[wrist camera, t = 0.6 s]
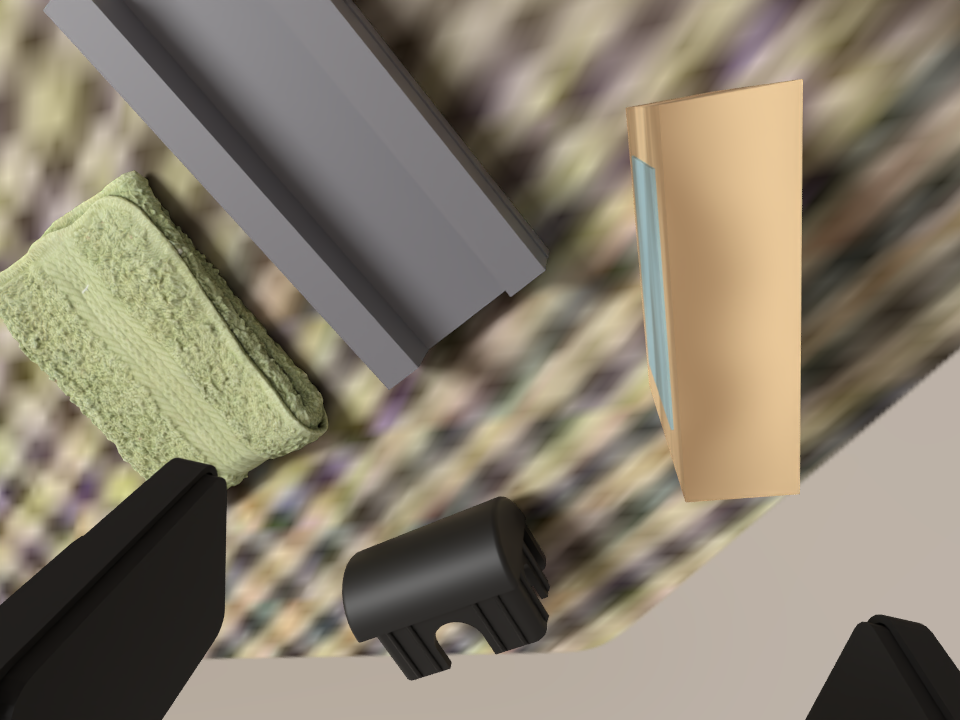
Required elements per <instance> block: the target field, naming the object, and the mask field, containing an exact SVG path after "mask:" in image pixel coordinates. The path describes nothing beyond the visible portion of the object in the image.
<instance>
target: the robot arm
mask: <svg viewBox="0 0 960 720" xmlns="http://www.w3.org/2000/svg"><path fill="white" fill-rule="evenodd" d="M226 510H227V482H226V480H225V479H224V478H222V477H218V473H217V470H216V467H214V466H213V465H210V464H205V463H201V462H196V461H192V460H187V459H183V458H173V459H171V460H170V461H168V462H167V463H166V464H165V465H164V466H163V467H161V468H160V469H159V470H158V471H157V472H156V473H155V474H154V475H152V476H151V477H150V478H149V479H148V480H147V481H146V482H144V483H143V484H142V485H141V486H140V487H139V488H138V489H136V490H135V491H134V492H133V493H132V494H131V495H130V496H128V497H127V498H126V499H125V500H124V501H123V502H122V503H121V504H119V505H118V506H117V507H116V508H115V509H114V510H113V511H111V512H110V513H109V514H108V515H107V516H106V517H105V518H103V519H102V520H101V521H100V522H99V523H98V524H97V525H95V526H94V527H93V528H92V529H91V530H90V531H89V532H87V533H86V534H85V535H84V536H81V537H80V538H78V539H77V540H75V541H74V542H73V543H71V544H70V545H69V546H68V547H67V548H65V549H64V550H63V551H62V552H61V553H60V554H58V555H57V556H56V557H55V558H54V559H53V560H52V561H50V562H49V563H48V564H47V565H46V566H45V567H44V568H42V569H41V570H40V571H39V572H38V573H37V574H36V575H34V576H33V577H32V578H31V579H30V580H29V581H27V582H26V583H25V584H24V585H23V586H22V587H21V588H19V589H18V590H17V591H16V592H15V593H14V594H13V595H11V596H10V597H9V598H8V599H7V600H6V601H5V602H3V603H2V604H1V605H0V720H162V719H163V717H164V716H165V714H166V713H167V711H168V710H169V708H170V707H171V705H172V704H173V702H174V701H175V699H176V698H177V696H178V695H179V693H180V692H181V690H182V689H183V687H184V686H185V684H186V683H187V681H188V680H189V678H190V676H191V675H192V673H193V672H194V670H195V669H196V668H197V666H198V664H199V663H200V661H201V660H202V658H203V657H204V655H205V654H206V652H207V651H208V649H209V648H210V646H211V645H212V643H213V642H214V640H215V639H216V637H217V635H218V633H219V631H220V629H221V626H222V623H223V619H224V613H225V565H226ZM806 720H960V671H959V670H958V668H957V667H956V665H955V664H954V663H953V661H952V660H951V658H950V657H949V656H948V654H947V653H946V651H945V650H944V649H943V647H942V646H941V644H940V643H939V642H938V640H937V639H936V637H935V636H934V634H933V633H932V632H931V631H930V630H929V629H928V628H927V627H926V626H924V625H922V624H920V623H917V622H912V621H908V620H903V619H899V618H894V617H890V616H885V615H875V616H873V617H871V618H870V619H869V620H868V622H861V623H859V624H858V625H857V626H856V627H855V629H854V631H853V632H852V634H851V636H850V638H849V640H848V642H847V644H846V645H845V647H844V649H843V651H842V653H841V655H840V656H839V658H838V660H837V662H836V664H835V666H834V668H833V669H832V671H831V673H830V675H829V677H828V679H827V681H826V682H825V684H824V686H823V688H822V690H821V692H820V693H819V695H818V697H817V699H816V701H815V703H814V705H813V706H812V708H811V710H810V712H809V714H808V716H807V718H806Z"/></svg>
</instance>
